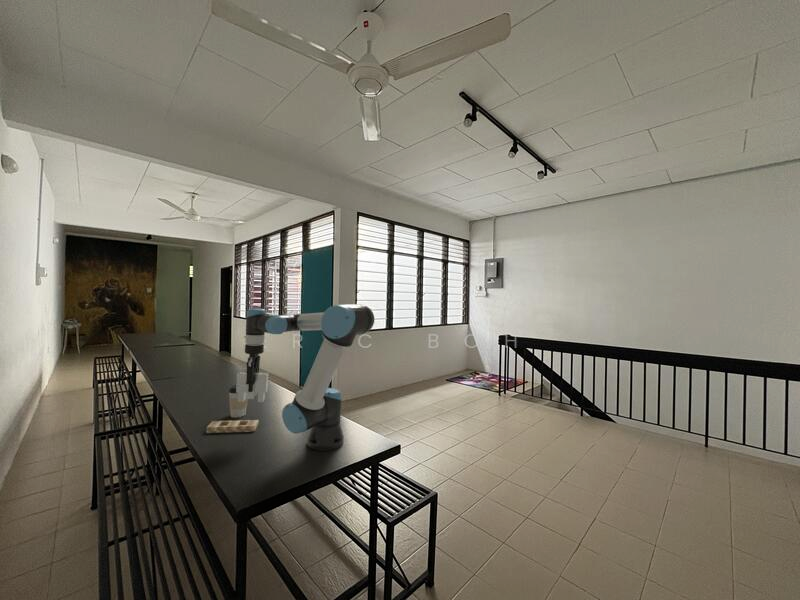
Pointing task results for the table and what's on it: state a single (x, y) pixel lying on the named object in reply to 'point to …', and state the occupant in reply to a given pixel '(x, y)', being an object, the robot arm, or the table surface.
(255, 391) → the grey flat block
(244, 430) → the wooden ladder frame
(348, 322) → the robot arm
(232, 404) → the coffee cup
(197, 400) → the table surface
